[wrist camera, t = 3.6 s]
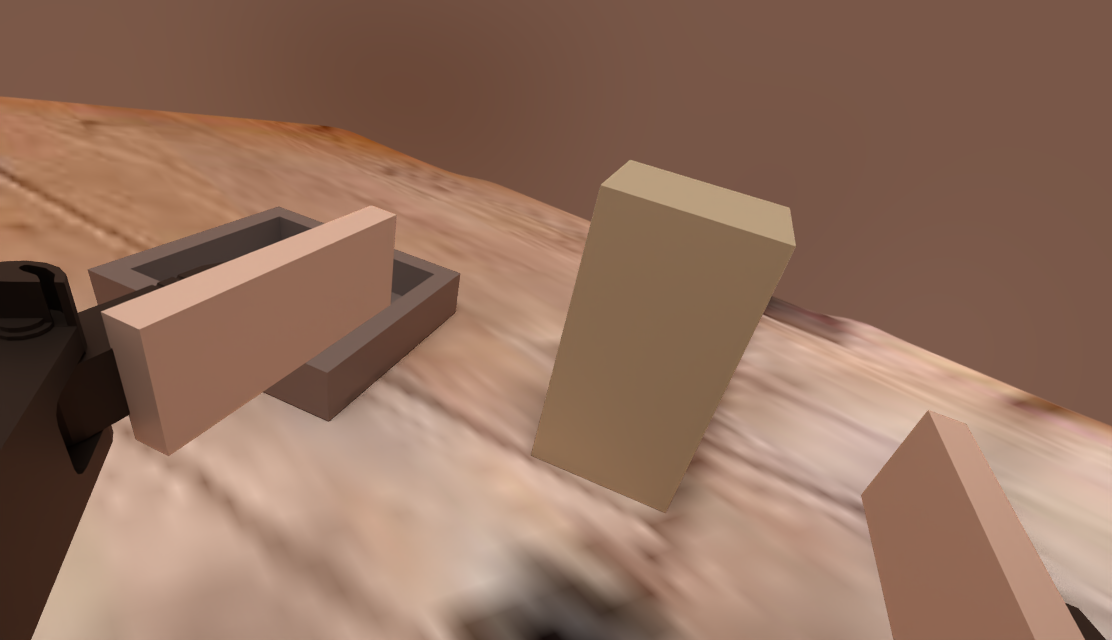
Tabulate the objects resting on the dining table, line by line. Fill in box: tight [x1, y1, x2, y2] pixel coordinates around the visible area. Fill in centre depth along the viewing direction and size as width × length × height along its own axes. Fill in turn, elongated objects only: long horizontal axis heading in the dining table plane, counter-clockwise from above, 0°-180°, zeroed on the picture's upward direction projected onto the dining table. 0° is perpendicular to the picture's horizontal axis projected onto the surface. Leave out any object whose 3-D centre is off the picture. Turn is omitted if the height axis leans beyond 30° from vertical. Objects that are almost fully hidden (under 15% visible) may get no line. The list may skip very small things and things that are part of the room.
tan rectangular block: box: [531, 160, 796, 513], centre depth 24 cm, size 7×5×14 cm
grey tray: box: [88, 207, 460, 421], centre depth 31 cm, size 14×12×3 cm
